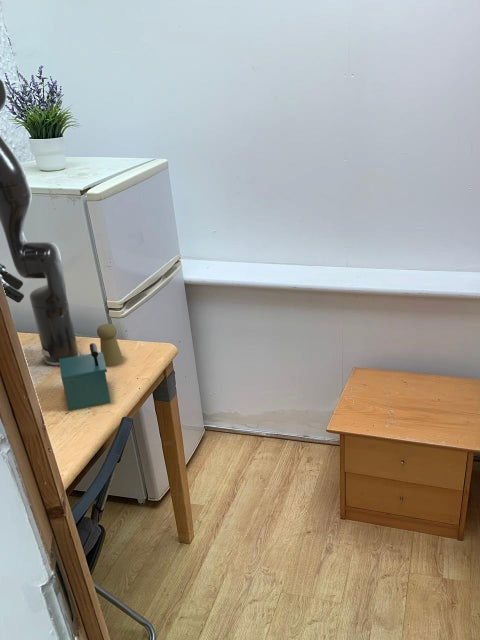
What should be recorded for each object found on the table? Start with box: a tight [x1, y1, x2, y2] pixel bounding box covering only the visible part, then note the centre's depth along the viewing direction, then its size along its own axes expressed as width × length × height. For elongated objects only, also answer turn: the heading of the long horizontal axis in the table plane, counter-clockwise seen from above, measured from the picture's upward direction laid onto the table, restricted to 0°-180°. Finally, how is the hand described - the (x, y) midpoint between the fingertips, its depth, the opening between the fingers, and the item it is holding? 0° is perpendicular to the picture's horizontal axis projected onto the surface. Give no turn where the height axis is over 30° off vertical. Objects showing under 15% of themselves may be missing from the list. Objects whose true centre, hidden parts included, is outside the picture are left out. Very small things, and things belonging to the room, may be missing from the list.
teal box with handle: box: [59, 342, 108, 381], centre depth 149 cm, size 10×10×5 cm
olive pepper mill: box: [96, 323, 124, 367], centre depth 169 cm, size 6×6×11 cm
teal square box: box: [61, 372, 112, 412], centre depth 153 cm, size 10×10×9 cm
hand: (21, 292), depth 137 cm, fingers open, 8 cm apart
